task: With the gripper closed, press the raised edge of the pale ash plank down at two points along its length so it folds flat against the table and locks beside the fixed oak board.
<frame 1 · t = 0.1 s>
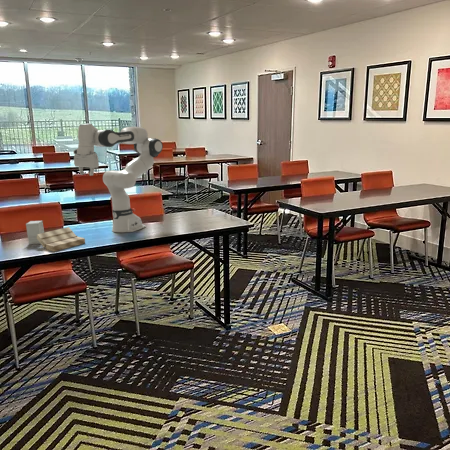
hand: (86, 175, 248), 39 cm above the table, tool pointing down, fingers open, 8 cm apart
click plank: (57, 236, 245), point 4 cm above the table, hinge at 32.0°
laid board: (66, 246, 241), on the table
supplement box: (37, 242, 251), on the table
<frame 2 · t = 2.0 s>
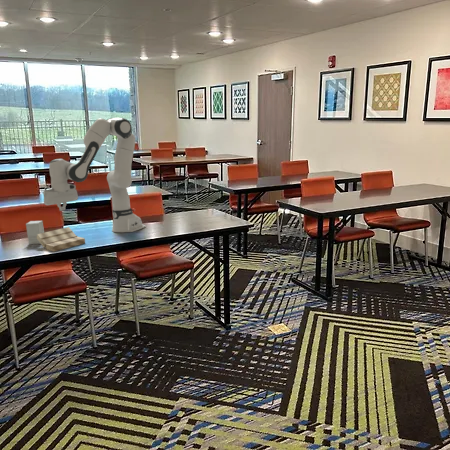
hand: (62, 210, 247), 19 cm above the table, tool pointing down, fingers closed
nothing on the table moved.
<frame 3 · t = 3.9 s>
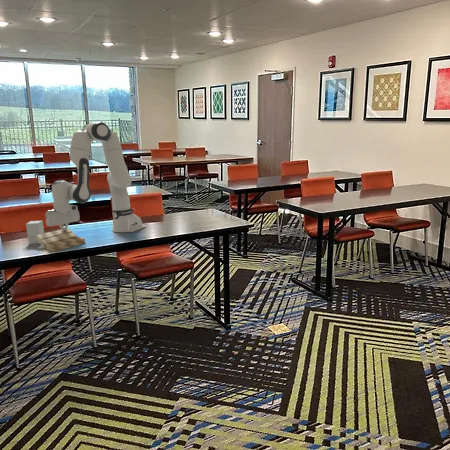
hand: (64, 230, 250), 7 cm above the table, tool pointing down, fingers closed, pressing on click plank
click plank: (57, 237, 245), point 4 cm above the table, hinge at 28.6°, touching gripper
everything else where it was.
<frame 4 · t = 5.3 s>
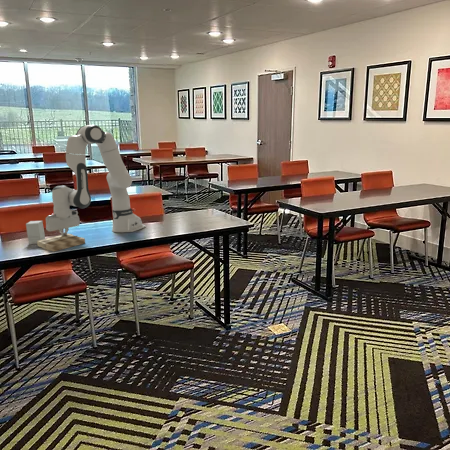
hand: (64, 235, 250), 4 cm above the table, tool pointing down, fingers closed, pressing on click plank
click plank: (57, 240, 246), point 2 cm above the table, hinge at 3.8°, touching gripper
everything else where it was.
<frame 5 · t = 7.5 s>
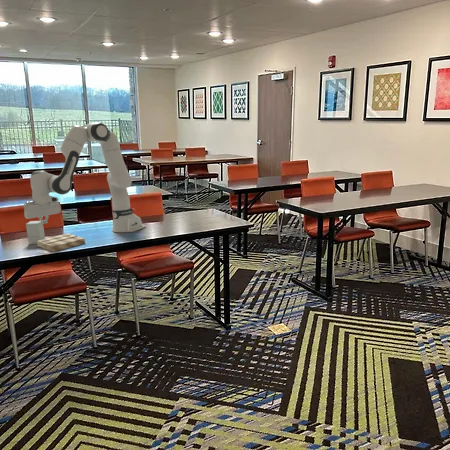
hand: (44, 223, 239), 13 cm above the table, tool pointing down, fingers closed
click plank: (57, 240, 246), point 2 cm above the table, hinge at 4.6°
everything else where it was.
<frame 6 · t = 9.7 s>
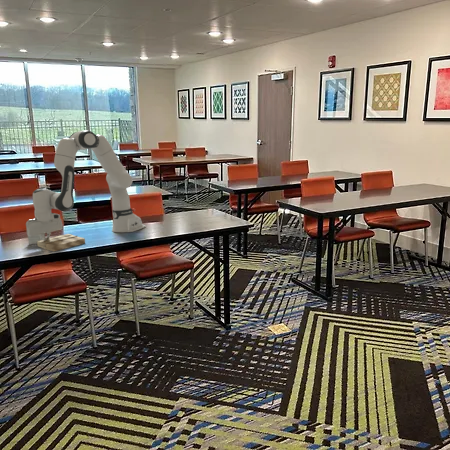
hand: (46, 240, 241), 4 cm above the table, tool pointing down, fingers closed, pressing on click plank
click plank: (57, 240, 246), point 2 cm above the table, hinge at 2.8°, touching gripper
everything else where it was.
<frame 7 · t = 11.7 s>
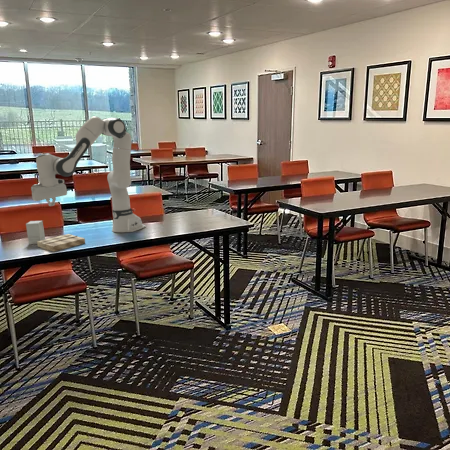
hand: (51, 205, 243), 22 cm above the table, tool pointing down, fingers closed
click plank: (57, 241, 246), point 2 cm above the table, hinge at 1.8°
everything else where it was.
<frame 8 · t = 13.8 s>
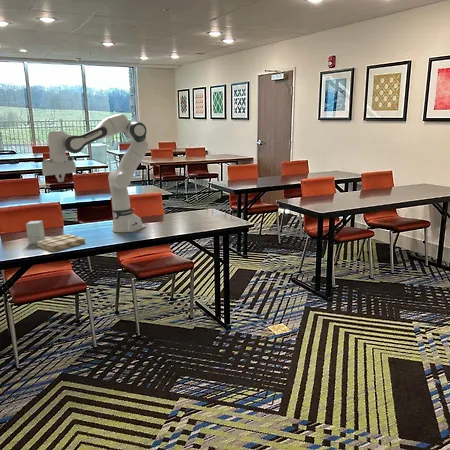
hand: (60, 181, 251), 35 cm above the table, tool pointing down, fingers closed
nothing on the table moved.
at the end: click plank at +2° (first picture: +32°); click plank touching nothing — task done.
